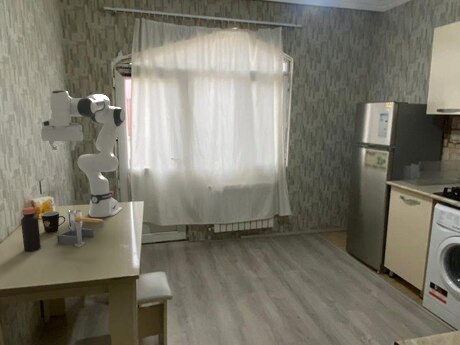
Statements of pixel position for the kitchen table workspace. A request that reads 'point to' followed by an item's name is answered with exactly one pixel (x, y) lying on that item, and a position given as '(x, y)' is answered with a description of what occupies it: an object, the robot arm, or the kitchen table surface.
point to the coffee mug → (51, 221)
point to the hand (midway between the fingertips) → (63, 149)
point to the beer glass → (73, 221)
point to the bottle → (30, 230)
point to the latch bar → (91, 220)
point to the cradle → (75, 240)
